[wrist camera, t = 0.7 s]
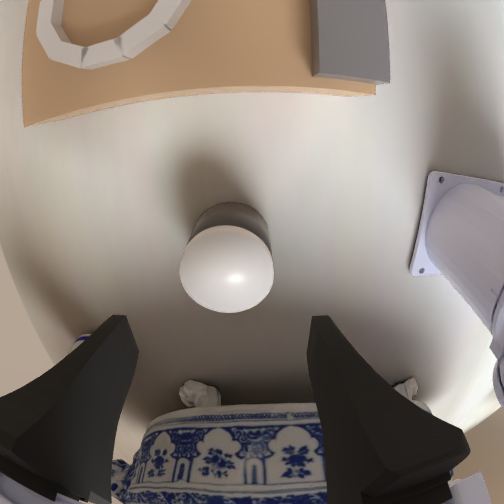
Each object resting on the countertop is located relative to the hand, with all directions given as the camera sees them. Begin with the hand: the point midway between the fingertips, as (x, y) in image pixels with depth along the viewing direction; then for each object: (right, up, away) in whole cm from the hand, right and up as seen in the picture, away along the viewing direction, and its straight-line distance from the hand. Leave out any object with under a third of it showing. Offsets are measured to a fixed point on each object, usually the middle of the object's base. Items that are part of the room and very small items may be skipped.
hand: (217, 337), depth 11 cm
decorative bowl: (+6, -19, +20) cm, 28 cm away
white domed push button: (0, +4, +8) cm, 9 cm away
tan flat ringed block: (-2, +17, +1) cm, 17 cm away
